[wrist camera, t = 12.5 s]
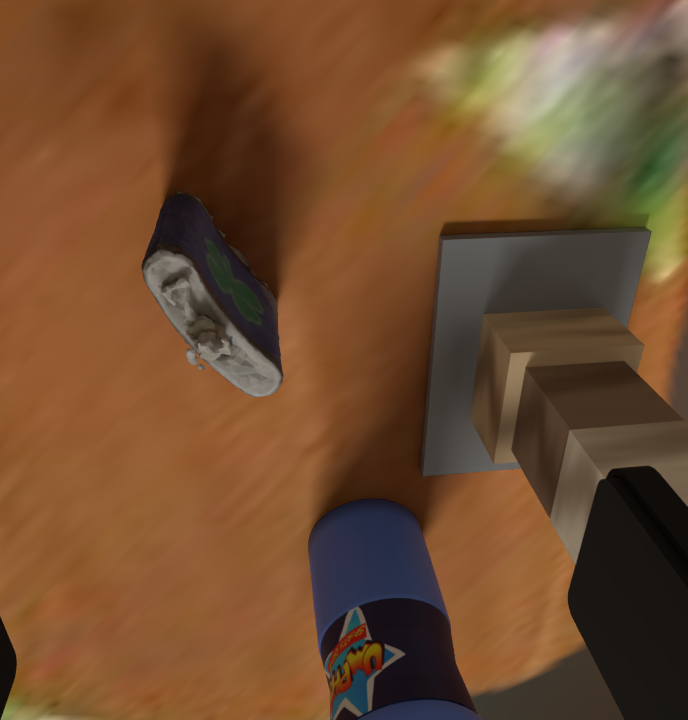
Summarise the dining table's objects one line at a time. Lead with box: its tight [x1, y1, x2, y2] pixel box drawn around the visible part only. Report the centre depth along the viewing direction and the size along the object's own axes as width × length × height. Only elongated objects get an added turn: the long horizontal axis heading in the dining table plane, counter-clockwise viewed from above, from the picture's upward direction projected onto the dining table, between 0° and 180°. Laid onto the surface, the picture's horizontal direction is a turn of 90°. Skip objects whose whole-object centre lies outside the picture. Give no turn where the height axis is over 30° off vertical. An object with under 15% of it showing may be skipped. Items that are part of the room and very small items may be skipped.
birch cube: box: [550, 420, 688, 565], centre depth 30 cm, size 6×6×6 cm
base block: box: [470, 307, 644, 464], centre depth 40 cm, size 8×8×5 cm
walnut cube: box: [511, 361, 683, 518], centre depth 35 cm, size 6×6×6 cm
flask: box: [142, 190, 283, 397], centre depth 32 cm, size 9×3×11 cm, turn 32°
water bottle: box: [308, 499, 483, 720], centre depth 39 cm, size 9×9×25 cm
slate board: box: [420, 227, 652, 476], centre depth 42 cm, size 18×13×1 cm
